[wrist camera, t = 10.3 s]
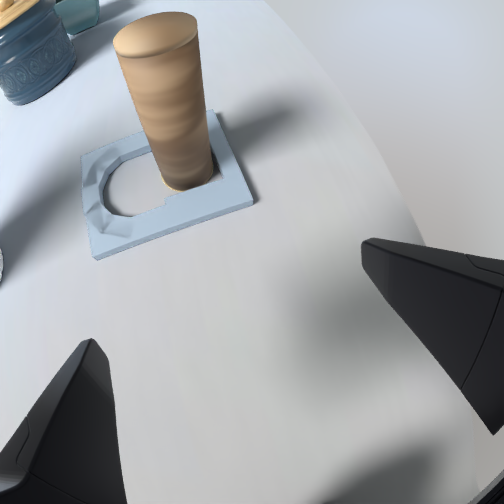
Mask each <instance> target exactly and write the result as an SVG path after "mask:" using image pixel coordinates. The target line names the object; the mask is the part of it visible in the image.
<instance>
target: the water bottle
mask: <svg viewBox="0 0 504 504" xmlns="http://www.w3.org/2000/svg"><path fill="white" fill-rule="evenodd" d="M2 270H3V256H2V251H1V249H0V280H1V277H2Z"/></svg>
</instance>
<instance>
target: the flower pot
mask: <svg viewBox="0 0 504 504" xmlns="http://www.w3.org/2000/svg"><path fill="white" fill-rule="evenodd" d="M54 9H55V11H56V13H57V14H59V15H61V16H62V22H63V25H64V27H65V30H66V32H67V33H68V34H70V35H74V34H76V33H78V32H80V31H83V30H85V29H87V28H89V27H92V26H94V25H96V24H97V21H98V17H99V0H56V3H55V6H54Z"/></svg>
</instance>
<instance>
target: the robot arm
mask: <svg viewBox="0 0 504 504" xmlns="http://www.w3.org/2000/svg"><path fill="white" fill-rule="evenodd" d="M361 256H362V266H363V269H364V270H365V272H366V273H367V274H368V276H369V277H370V279H371V280H372V281H373V283H374V284H375V285H376V287H377V288H378V290H379V291H380V292H381V294H382V295H383V297H384V298H385V299H386V301H387V302H388V303H389V304H390V305H391V307H392V308H393V309H394V310H395V311H396V312H397V314H398V315H399V316H400V317H401V318H402V319H403V320H404V322H405V323H406V324H407V325H408V326H409V327H410V329H411V330H412V331H413V332H414V333H415V335H416V336H417V337H418V338H419V339H420V341H421V342H422V343H423V344H424V345H425V347H426V348H427V349H428V350H429V351H430V353H431V354H432V355H433V356H434V358H435V359H436V360H437V361H438V363H439V364H440V365H441V366H442V368H443V369H444V370H445V371H446V373H447V374H448V375H449V376H450V378H451V379H452V380H453V382H454V383H455V384H456V386H457V387H458V388H459V389H460V390H461V392H462V394H463V395H464V396H465V398H466V399H467V400H468V402H469V403H470V404H471V406H472V407H473V409H474V410H475V411H476V412H477V414H478V415H479V417H480V418H481V420H482V421H483V422H484V424H485V425H486V426H487V428H488V430H489V431H490V432H491V434H492V435H495V434H496V433H497V432H498V431H499V429H500V428H501V427H502V426H503V425H504V260H498V259H492V258H486V257H480V256H475V255H470V254H464V253H458V252H453V251H448V250H443V249H437V248H432V247H426V246H420V245H414V244H409V243H403V242H397V241H391V240H385V239H379V238H370V239H367V240H365V241H363V242H362V244H361ZM0 504H127V499H126V494H125V489H124V483H123V476H122V470H121V463H120V455H119V447H118V437H117V426H116V414H115V402H114V394H113V388H112V381H111V374H110V367H109V361H108V358H107V356H106V354H105V353H104V352H103V350H102V349H101V348H100V346H99V345H98V343H97V342H96V341H95V340H94V339H92V338H91V339H87V340H84V341H82V342H81V343H80V344H79V345H78V347H77V348H76V349H75V350H74V352H73V353H72V354H71V355H70V357H69V358H68V359H67V361H66V362H65V363H64V365H63V366H62V367H61V368H60V370H59V371H58V372H57V374H56V375H55V376H54V378H53V379H52V380H51V382H50V383H49V385H48V386H47V387H46V389H45V390H44V391H43V393H42V394H41V396H40V397H39V398H38V400H37V401H36V403H35V404H34V405H33V407H32V408H31V410H30V411H29V413H28V414H27V417H25V418H24V420H23V421H22V423H21V424H20V426H19V427H18V429H17V430H16V432H15V433H14V434H13V436H12V437H11V439H10V440H9V441H8V443H7V444H6V445H5V447H4V448H3V449H2V451H1V452H0ZM468 504H504V470H503V471H502V472H501V473H500V474H499V475H498V476H497V477H496V478H495V479H494V480H493V481H492V482H491V483H490V484H489V485H488V486H487V487H486V488H485V489H484V490H483V491H482V492H481V493H479V494H478V495H477V496H476V497H475V498H474V499H473V500H472V501H470V502H469V503H468Z"/></svg>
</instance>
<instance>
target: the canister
mask: <svg viewBox="0 0 504 504" xmlns="http://www.w3.org/2000/svg"><path fill="white" fill-rule="evenodd" d="M55 3H56V0H0V87H1V88H2V90H3V91H4V95H5V96H6V97H7V99H8V100H9V101H11V102H12V103H13V104H14V105H23V104H26V103H29V102H31V101H33V100H35V99H37V98H39V97H41V96H42V95H44V94H45V93H47V92H48V91H49V90H51V89H52V88H53V87H55V86H56V85H57V84H58V83H59V82H60V81H61V80H62V79H63V78H64V77H65V76H66V75H67V74H68V73H69V72H70V70H71V69H72V67H73V66H74V64H75V61H76V55H75V49H74V46H73V44H72V43H71V42H70V40H69V37H68V35H67V32H66V30H65V27H64V25H63V22H62V16H61V15H59V14H57V13H56V11H55V9H54V6H55Z"/></svg>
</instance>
